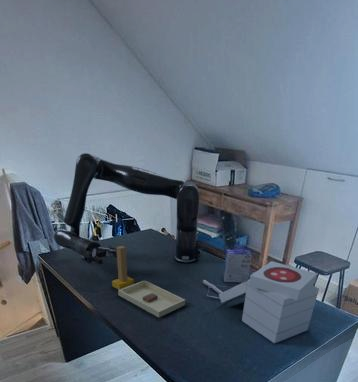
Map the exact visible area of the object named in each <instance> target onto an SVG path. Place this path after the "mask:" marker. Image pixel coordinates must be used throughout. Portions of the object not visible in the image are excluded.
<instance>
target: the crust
mask: <svg viewBox="0 0 358 382" xmlns="http://www.w3.org/2000/svg"><path fill="white" fill-rule="evenodd" d="M156 299H158V296H157V295H155V294H153V293H151V294H149V295H146V296H144V297H143V300H144V301H146V302H148V303H149V302H151V301H154V300H156Z"/></svg>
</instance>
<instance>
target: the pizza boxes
mask: <svg viewBox="0 0 358 382" xmlns="http://www.w3.org/2000/svg"><path fill="white" fill-rule="evenodd" d="M317 277H318V272H313V271H310V270H306V269H302V268H300V267H299V268H298V267H294V266H291V265H287V264H283V263H280V262H276V261H273V260H271V261H270V262H268V263H267V264H265V265H264V266H262V267H261V268H259V269H258V270H256V271H255V272H253V273H251V274H249V278H248V281H246V282H243V283H239V284H237V285H235V286H233V287H231V288H229V289H227V290H225V291H222V292H223V293H221V294H219V293H218V298H219V300H220V303H221V304H224V303H227V302H230V301H233V300H237V299H239V298H244V304H243V309H242V316H241V322H242V323H244V324H246V325H247V326H249V327H250V328H251V329H253V330H254V331H256V332H257V333H258V334H260V335H262V336H263V337H265V338H266V339H267V340H269V341H270V342H271V343H273V344H276V343H279V342H282V341H284V340H287V339H289V338H291V337H293V336H294V337H295V336H297V335H299V334H302V333H304V332H306V331H309V326H310V322H311V320H312V316H313V311H314V309H315V305H316V301H317V298H318V294H319V291H320V288H319V287H317V286H315V284H316V281H317Z"/></svg>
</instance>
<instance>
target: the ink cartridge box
mask: <svg viewBox="0 0 358 382" xmlns="http://www.w3.org/2000/svg"><path fill="white" fill-rule="evenodd" d="M238 247H240V248H238ZM225 251H226V252H225V259H224V260H225V263H224V271H223V283H239V284H241V283H243V282H246V281H248V280H249V279H250V271H251V263H252V258H253V257H252V256H253V253H252V251H251V250H250V249H245V245H244V244H234V248H233V249H226V250H225Z"/></svg>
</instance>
